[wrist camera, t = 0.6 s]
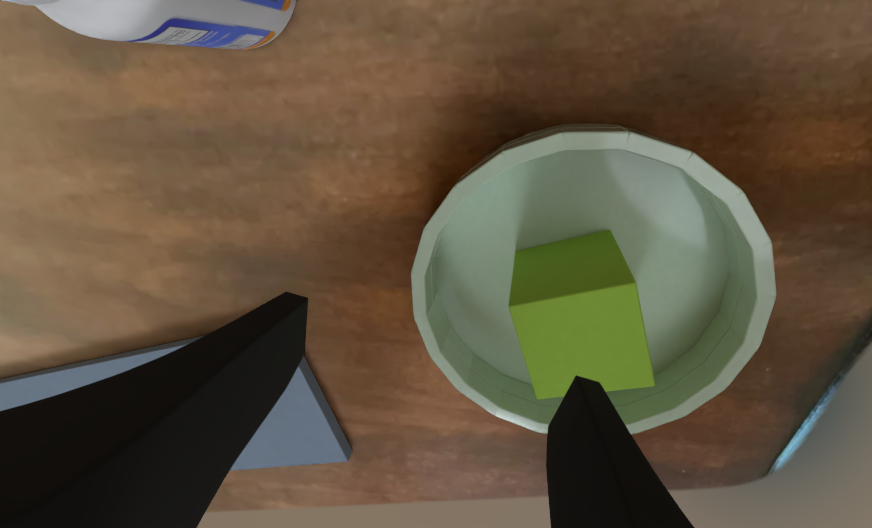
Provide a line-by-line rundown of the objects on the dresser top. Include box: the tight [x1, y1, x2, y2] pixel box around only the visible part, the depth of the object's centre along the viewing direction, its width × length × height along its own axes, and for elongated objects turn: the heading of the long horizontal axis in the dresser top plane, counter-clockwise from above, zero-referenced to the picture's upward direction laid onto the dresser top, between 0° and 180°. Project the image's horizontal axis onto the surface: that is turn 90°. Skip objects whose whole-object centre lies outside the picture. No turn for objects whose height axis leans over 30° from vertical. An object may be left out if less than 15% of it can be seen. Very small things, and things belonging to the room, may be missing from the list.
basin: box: [411, 123, 776, 434], centre depth 18 cm, size 13×13×3 cm
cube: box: [508, 230, 655, 399], centre depth 16 cm, size 4×4×5 cm
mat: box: [0, 335, 352, 470], centre depth 31 cm, size 36×10×1 cm, turn 109°
